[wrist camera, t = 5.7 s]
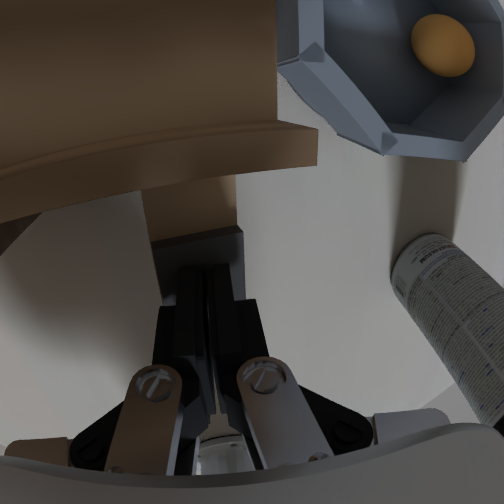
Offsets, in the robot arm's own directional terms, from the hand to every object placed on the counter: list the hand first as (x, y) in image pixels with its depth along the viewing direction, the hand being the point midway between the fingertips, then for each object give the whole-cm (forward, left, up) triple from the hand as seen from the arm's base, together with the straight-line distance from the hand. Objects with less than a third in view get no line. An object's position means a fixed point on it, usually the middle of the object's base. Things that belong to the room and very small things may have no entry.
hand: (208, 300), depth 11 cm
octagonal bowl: (+11, -10, -9) cm, 17 cm away
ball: (+11, -14, -6) cm, 18 cm away
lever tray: (+7, +10, -3) cm, 12 cm away
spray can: (-6, -17, -9) cm, 20 cm away
